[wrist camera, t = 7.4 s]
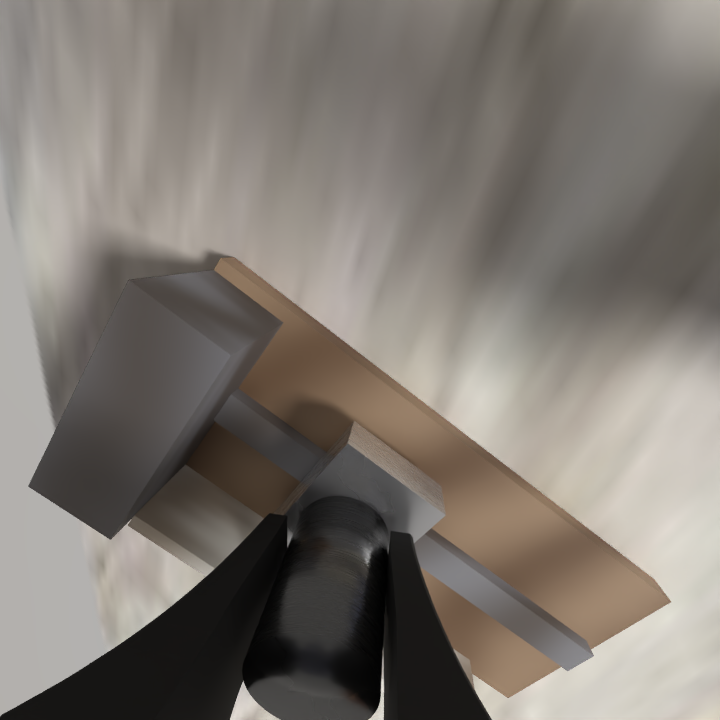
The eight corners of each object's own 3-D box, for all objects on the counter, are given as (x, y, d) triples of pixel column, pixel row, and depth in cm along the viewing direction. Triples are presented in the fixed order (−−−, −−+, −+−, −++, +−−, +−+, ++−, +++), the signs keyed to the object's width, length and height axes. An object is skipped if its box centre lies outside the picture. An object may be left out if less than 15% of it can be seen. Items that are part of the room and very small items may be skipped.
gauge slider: (441, 485, 13) (469, 671, 7) (312, 604, 15) (259, 808, 10) (354, 420, 12) (312, 563, 7) (237, 554, 15) (139, 736, 9)
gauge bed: (654, 579, 15) (768, 731, 10) (499, 676, 18) (533, 828, 13) (234, 257, 13) (136, 262, 8) (135, 424, 16) (21, 500, 11)
